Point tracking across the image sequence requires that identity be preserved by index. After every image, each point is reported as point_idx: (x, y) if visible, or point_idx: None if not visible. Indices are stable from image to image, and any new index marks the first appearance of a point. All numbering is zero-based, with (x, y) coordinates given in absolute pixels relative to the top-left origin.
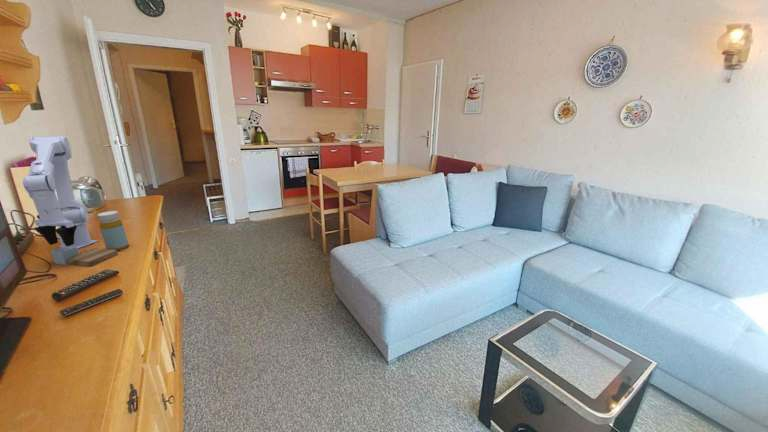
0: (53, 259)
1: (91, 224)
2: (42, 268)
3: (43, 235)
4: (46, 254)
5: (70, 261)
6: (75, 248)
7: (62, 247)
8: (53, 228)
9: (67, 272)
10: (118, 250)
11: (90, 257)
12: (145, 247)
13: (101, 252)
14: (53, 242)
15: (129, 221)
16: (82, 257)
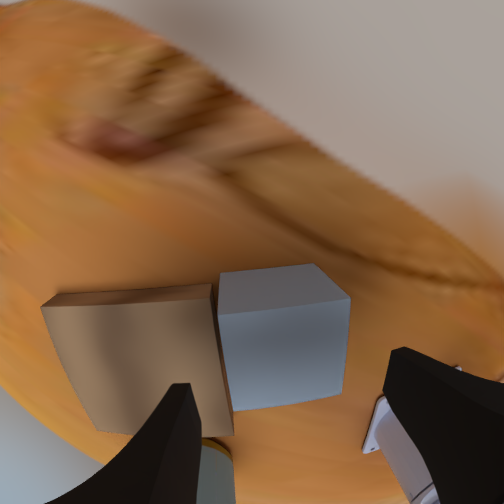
0: (324, 273)
1: None
2: (315, 193)
3: (477, 391)
4: (457, 312)
5: (181, 294)
6: (231, 397)
7: (339, 373)
8: (448, 492)
9: (87, 206)
10: None
11: (96, 352)
12: (97, 458)
13: (124, 407)
14: (394, 377)
15: (392, 499)
16: (139, 344)
